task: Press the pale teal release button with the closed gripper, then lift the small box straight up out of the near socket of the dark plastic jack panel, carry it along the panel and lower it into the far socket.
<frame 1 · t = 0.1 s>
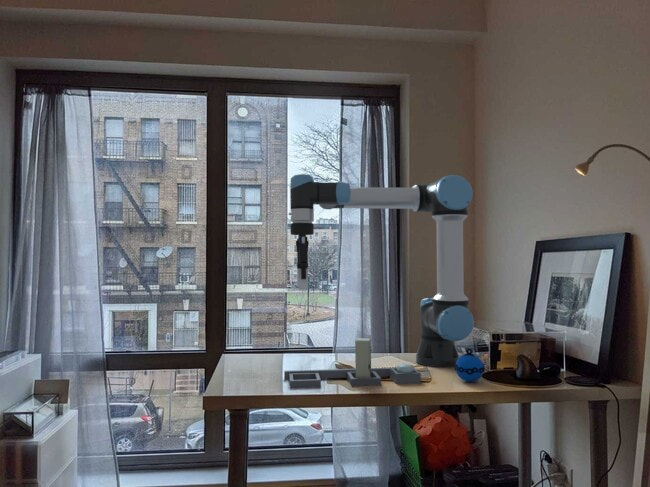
hand: (302, 288, 157), 28 cm above the table, fingers open, 13 cm apart
box: (363, 382, 148), resting in jack panel
release button: (405, 369, 150), point 3 cm above the table, slide at 0.0 cm
button collar: (405, 380, 150), on the table
ornament: (469, 382, 148), on the table
jack panel: (334, 382, 148), on the table
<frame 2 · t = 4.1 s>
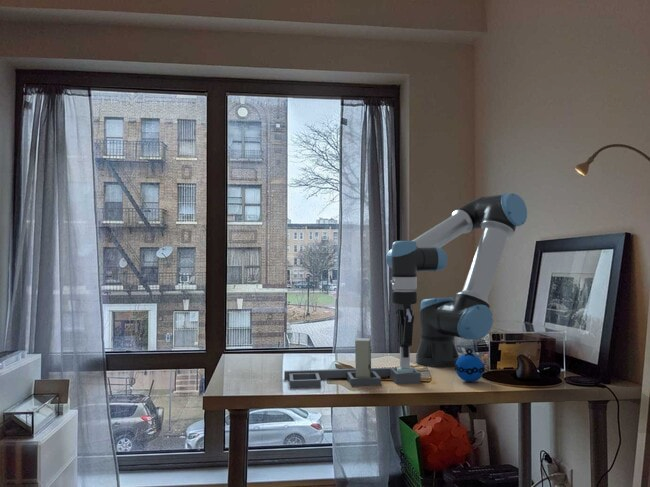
hand: (404, 367, 150), 4 cm above the table, fingers closed
release button: (405, 372, 150), point 2 cm above the table, slide at 0.8 cm, touching gripper
everything else where it was.
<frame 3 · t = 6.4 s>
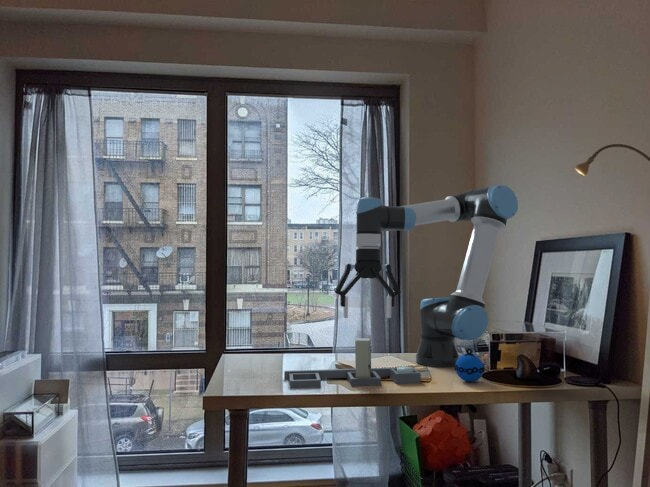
hand: (367, 317, 149), 19 cm above the table, fingers open, 13 cm apart
release button: (405, 372, 150), point 2 cm above the table, slide at 0.8 cm
everything else where it was.
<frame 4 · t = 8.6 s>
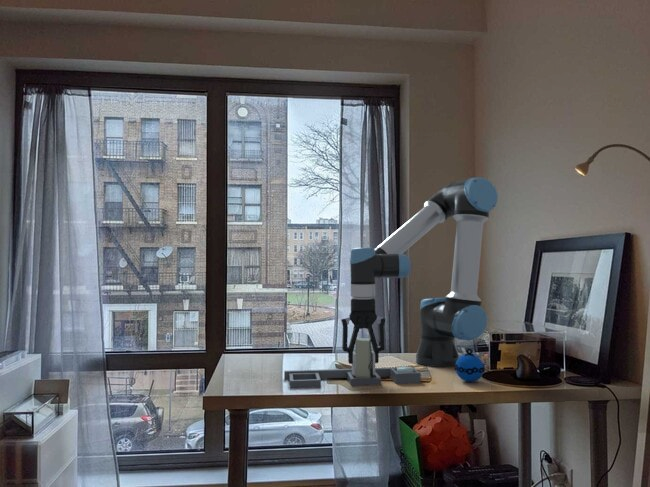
hand: (363, 373, 148), 2 cm above the table, fingers closed on box, 5 cm apart
box: (363, 382, 148), resting in jack panel, touching gripper
everything else where it was.
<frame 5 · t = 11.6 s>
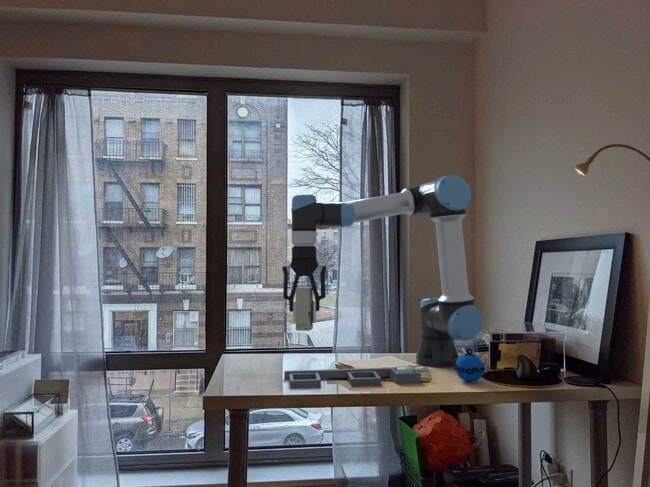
hand: (304, 322, 147), 18 cm above the table, fingers closed on box, 5 cm apart
box: (304, 330, 147), point 16 cm above the table, touching gripper
everything else where it was.
when the fingers open (4 cm above the table, at t = 14.5 s): box drops 1 cm, resting in jack panel.
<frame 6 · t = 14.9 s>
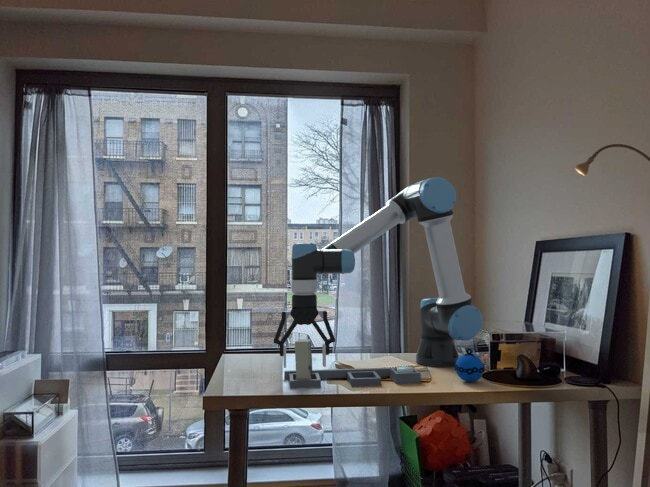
hand: (304, 366, 147), 5 cm above the table, fingers open, 11 cm apart
box: (304, 383, 147), resting in jack panel
everything else where it was.
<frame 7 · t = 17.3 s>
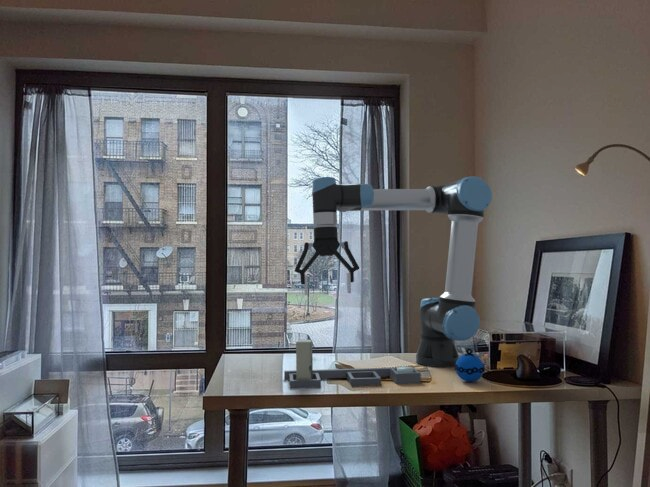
hand: (327, 294, 153), 26 cm above the table, fingers open, 13 cm apart
nothing on the table moved.
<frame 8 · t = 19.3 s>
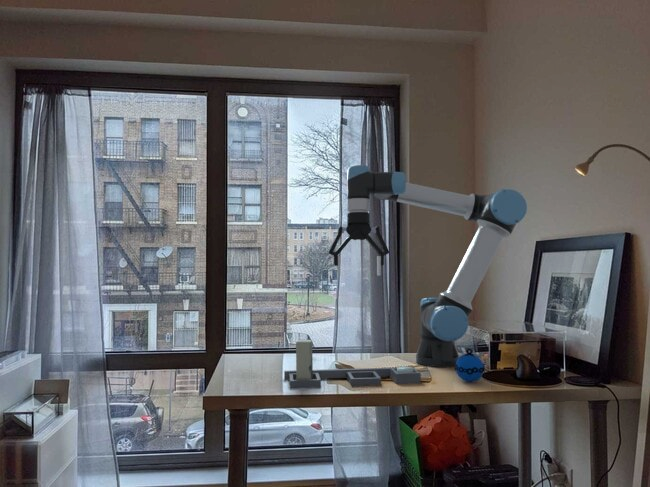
hand: (358, 275, 162), 32 cm above the table, fingers open, 13 cm apart
nothing on the table moved.
at the end: box inside the target area on the jack panel (0.0 cm from its centre), point 0.0 cm above the jack panel's base; box tilted 0°; the gripper is holding nothing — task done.
